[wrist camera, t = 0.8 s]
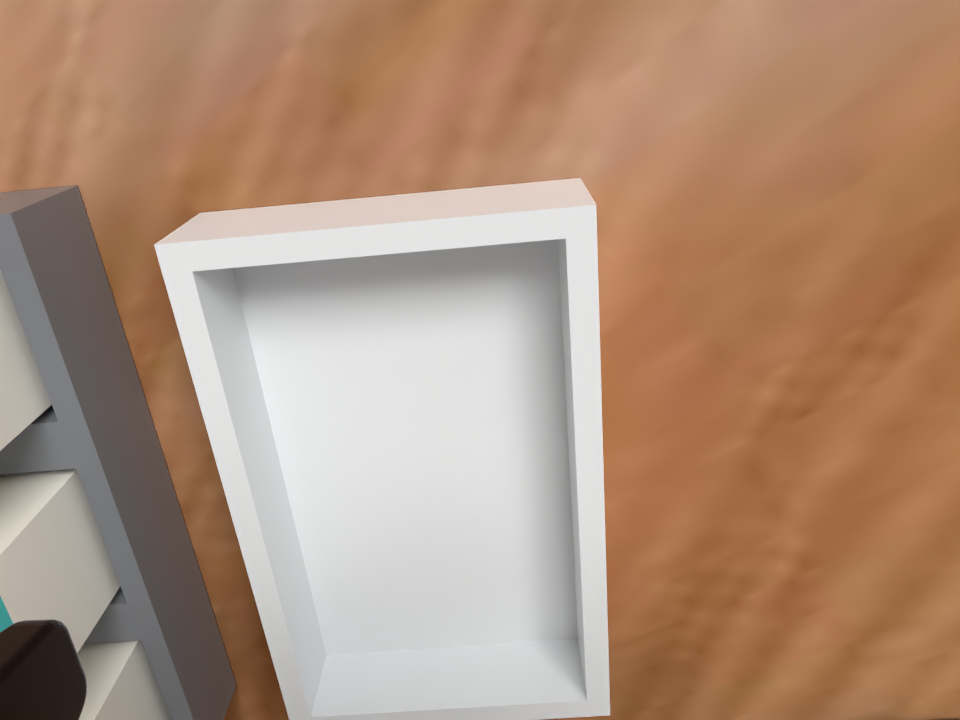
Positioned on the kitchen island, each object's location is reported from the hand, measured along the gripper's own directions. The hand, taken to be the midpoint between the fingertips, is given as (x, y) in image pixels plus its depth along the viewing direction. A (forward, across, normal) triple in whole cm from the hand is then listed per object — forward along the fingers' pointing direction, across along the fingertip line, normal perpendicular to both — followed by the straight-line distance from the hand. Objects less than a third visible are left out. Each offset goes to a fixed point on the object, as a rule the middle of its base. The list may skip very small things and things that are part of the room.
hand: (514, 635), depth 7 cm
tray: (+14, +2, +6) cm, 15 cm away
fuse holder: (+14, +13, +7) cm, 20 cm away
